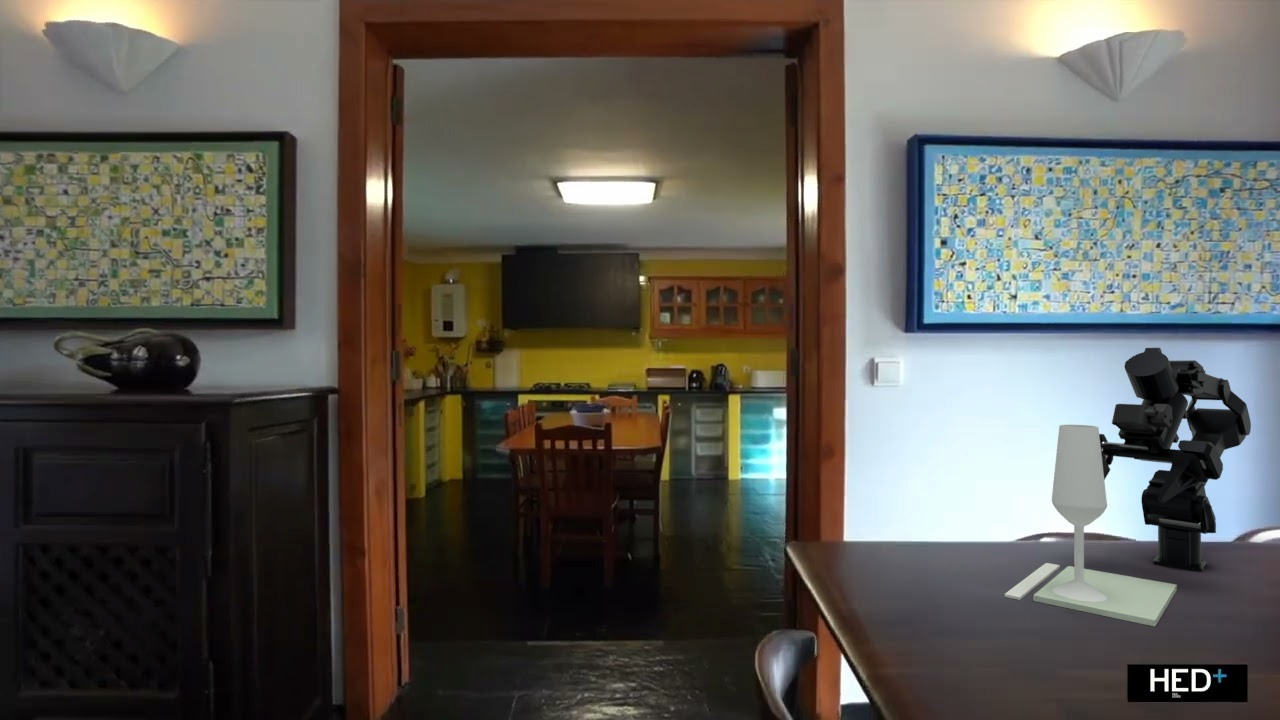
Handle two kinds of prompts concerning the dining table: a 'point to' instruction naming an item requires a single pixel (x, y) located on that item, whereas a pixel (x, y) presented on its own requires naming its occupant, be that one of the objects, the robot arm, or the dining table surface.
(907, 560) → the dining table surface
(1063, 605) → the pale green flat slabs
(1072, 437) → the champagne flute
